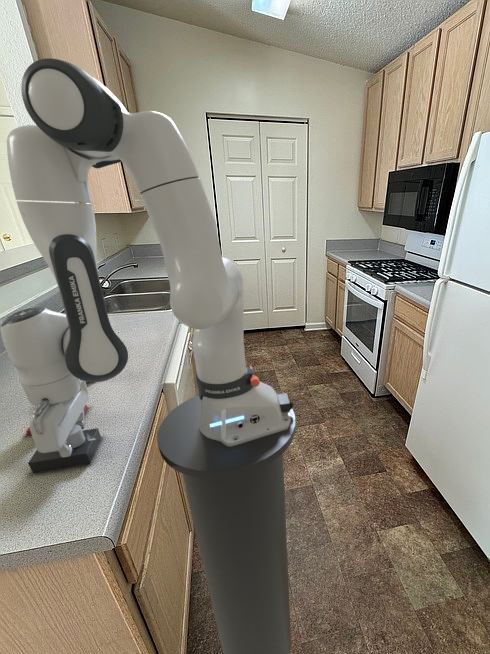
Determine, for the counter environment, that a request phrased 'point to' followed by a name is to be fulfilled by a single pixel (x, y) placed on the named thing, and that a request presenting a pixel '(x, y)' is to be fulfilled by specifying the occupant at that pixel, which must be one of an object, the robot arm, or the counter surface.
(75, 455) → the console
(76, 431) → the dial
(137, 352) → the counter surface
